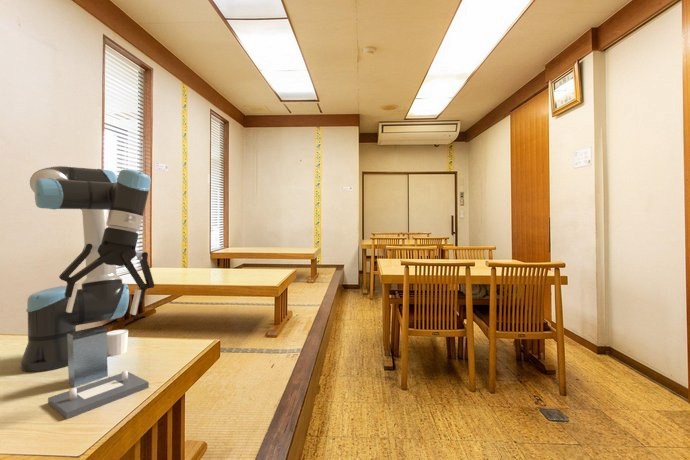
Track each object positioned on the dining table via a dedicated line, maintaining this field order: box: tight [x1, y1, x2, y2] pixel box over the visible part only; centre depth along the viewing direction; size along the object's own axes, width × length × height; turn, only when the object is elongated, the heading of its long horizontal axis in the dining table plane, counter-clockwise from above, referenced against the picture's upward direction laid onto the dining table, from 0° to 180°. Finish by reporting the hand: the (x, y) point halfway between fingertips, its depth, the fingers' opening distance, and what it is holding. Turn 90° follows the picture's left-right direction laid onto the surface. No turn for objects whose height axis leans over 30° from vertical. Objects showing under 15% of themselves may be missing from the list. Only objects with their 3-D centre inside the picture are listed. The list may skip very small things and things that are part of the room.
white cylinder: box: [107, 328, 129, 357], centre depth 119 cm, size 7×7×7 cm
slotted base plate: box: [47, 370, 150, 420], centre depth 90 cm, size 12×18×4 cm, turn 146°
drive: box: [67, 325, 109, 388], centre depth 99 cm, size 4×8×14 cm, turn 146°
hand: (102, 313), depth 87 cm, fingers open, 13 cm apart
